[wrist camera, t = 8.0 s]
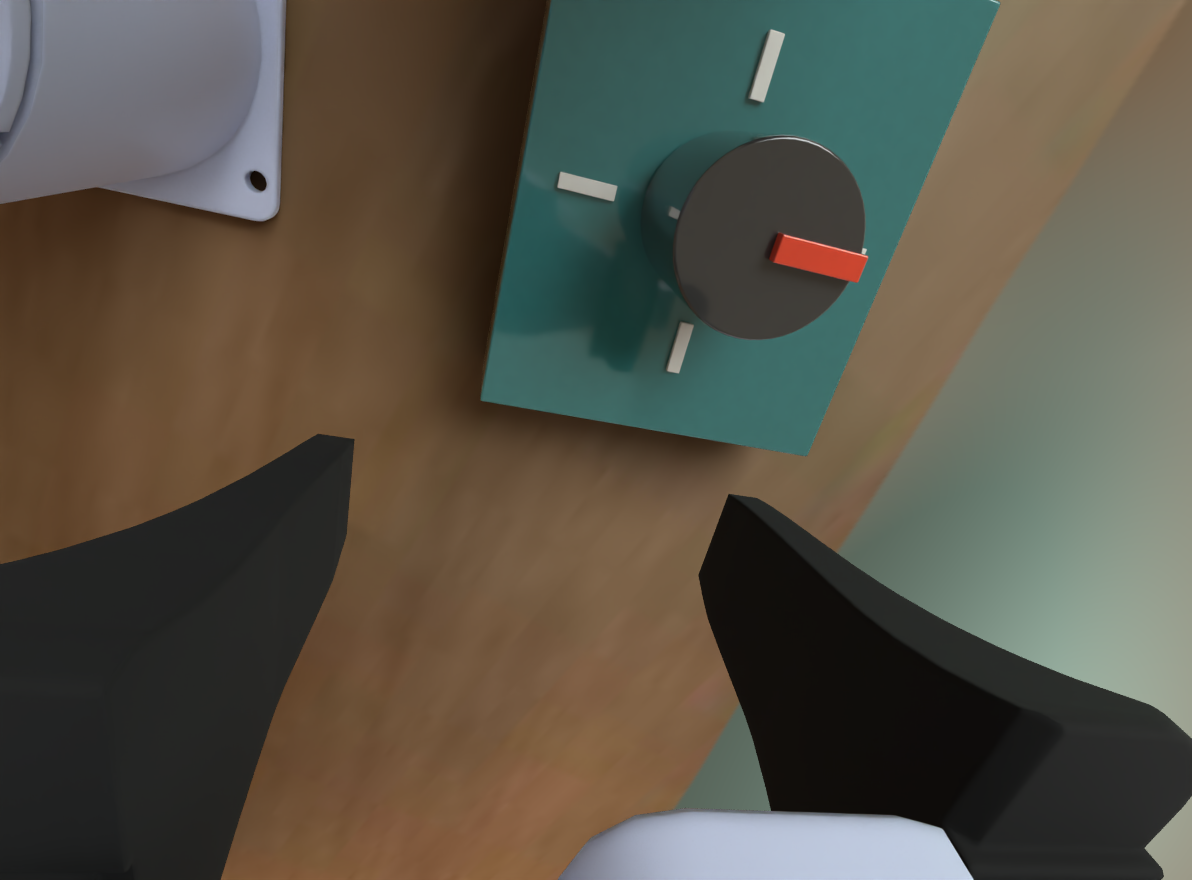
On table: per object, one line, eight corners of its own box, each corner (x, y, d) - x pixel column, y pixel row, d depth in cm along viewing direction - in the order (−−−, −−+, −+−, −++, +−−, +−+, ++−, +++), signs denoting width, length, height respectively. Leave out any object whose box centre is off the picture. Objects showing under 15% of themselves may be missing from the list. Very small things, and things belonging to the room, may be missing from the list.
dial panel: (565, -108, 15) (578, -157, 12) (927, 18, 17) (1007, 0, 15) (483, 363, 20) (479, 404, 17) (771, 416, 22) (809, 460, 19)
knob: (621, 280, 16) (651, 324, 13) (666, 110, 15) (715, 109, 11) (763, 313, 17) (827, 362, 14) (820, 155, 16) (909, 166, 12)
